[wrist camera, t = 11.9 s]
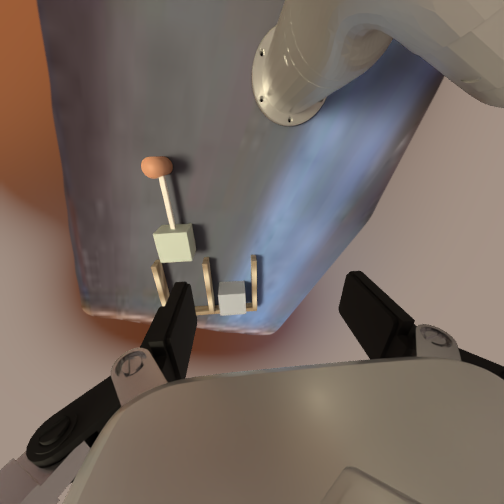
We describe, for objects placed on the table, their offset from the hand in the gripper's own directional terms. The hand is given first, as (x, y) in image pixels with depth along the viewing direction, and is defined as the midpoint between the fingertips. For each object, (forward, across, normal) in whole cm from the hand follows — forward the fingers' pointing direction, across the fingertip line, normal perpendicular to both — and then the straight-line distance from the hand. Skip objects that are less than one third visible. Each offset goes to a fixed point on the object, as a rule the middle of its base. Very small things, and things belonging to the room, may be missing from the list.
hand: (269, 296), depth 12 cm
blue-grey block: (+31, +4, +23) cm, 38 cm away
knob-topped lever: (+30, +14, +2) cm, 33 cm away
